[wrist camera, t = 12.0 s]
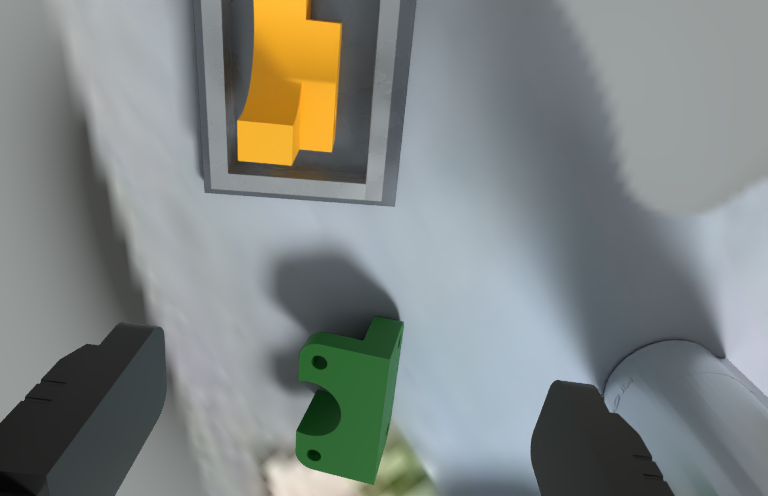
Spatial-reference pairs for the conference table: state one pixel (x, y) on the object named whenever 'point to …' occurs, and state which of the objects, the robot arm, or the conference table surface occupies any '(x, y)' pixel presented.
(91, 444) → the robot arm
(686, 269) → the conference table surface
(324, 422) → the clamp
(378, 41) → the grey metal tray
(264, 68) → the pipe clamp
